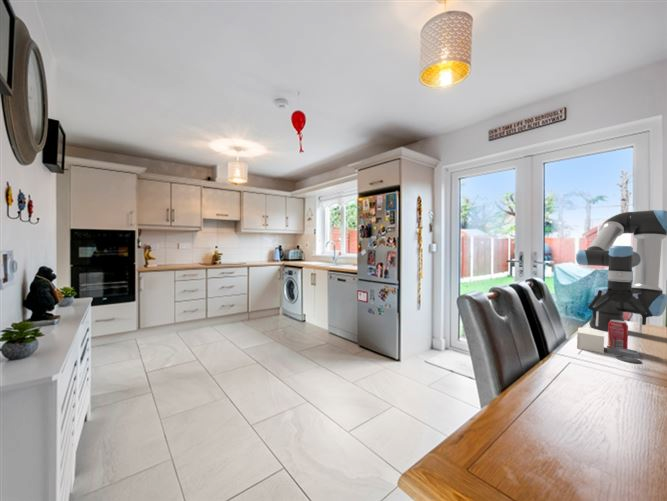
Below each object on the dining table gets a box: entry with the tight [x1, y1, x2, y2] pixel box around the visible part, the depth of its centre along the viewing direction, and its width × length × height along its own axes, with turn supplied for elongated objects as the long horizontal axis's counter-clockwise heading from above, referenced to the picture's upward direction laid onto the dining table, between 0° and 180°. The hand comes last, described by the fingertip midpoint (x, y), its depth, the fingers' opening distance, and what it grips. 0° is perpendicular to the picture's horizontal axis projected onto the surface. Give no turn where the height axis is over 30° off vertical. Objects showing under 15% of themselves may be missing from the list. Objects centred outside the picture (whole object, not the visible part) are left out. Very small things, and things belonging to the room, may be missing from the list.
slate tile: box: [606, 345, 639, 359], centre depth 121 cm, size 6×9×2 cm, turn 48°
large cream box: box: [576, 327, 605, 354], centre depth 128 cm, size 8×11×7 cm
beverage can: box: [607, 320, 629, 349], centre depth 128 cm, size 6×6×12 cm
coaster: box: [615, 355, 642, 364], centre depth 114 cm, size 7×7×1 cm
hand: (617, 328), depth 127 cm, fingers open, 13 cm apart
